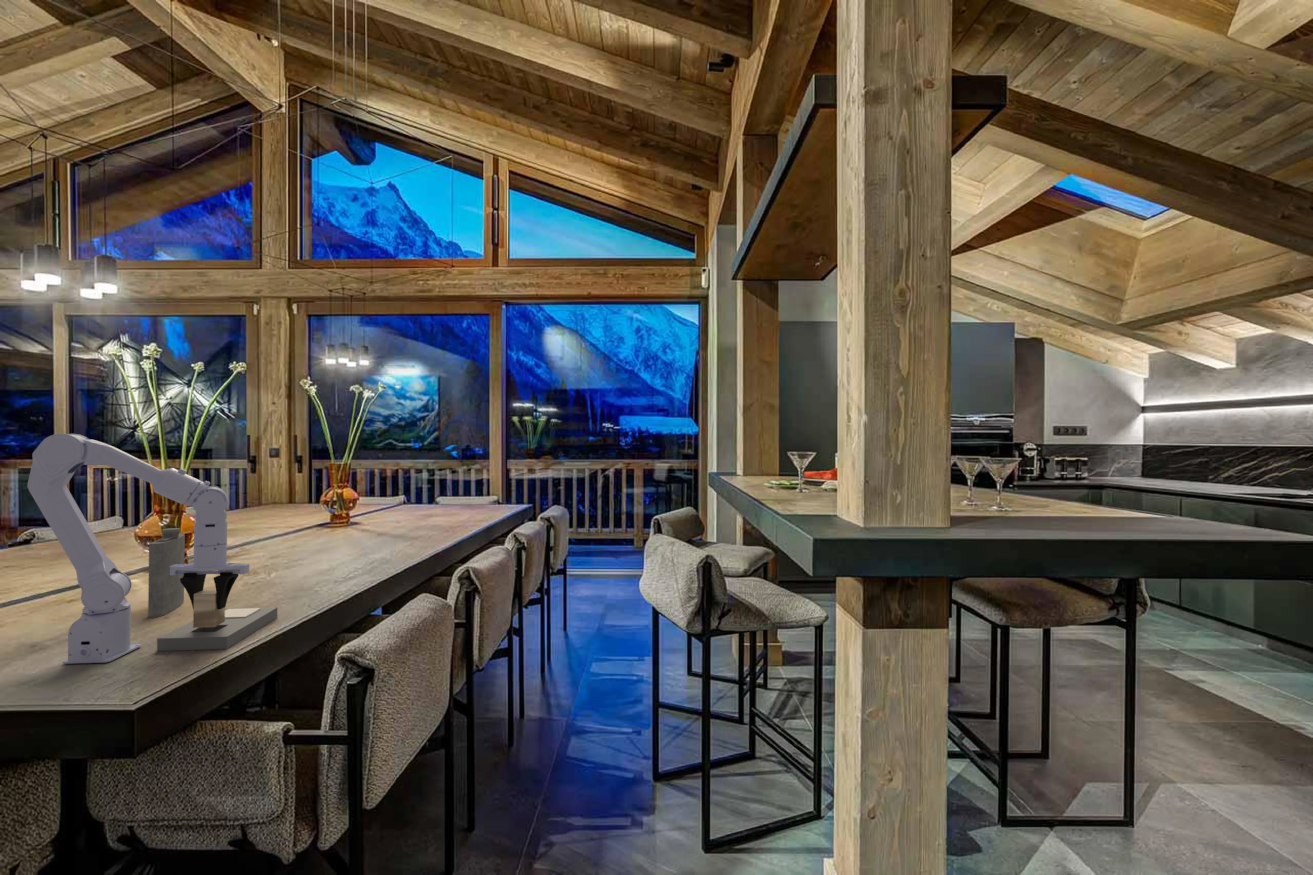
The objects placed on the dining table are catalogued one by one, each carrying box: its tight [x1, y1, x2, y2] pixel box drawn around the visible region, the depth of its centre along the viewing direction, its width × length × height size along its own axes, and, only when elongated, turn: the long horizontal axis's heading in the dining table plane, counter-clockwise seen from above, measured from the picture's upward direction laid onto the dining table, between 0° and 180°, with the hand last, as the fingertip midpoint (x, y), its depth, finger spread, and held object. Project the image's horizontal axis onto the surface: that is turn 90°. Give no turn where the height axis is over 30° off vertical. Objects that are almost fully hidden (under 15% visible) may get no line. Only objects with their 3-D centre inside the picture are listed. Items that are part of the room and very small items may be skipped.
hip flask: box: [147, 527, 186, 618], centre depth 156 cm, size 16×4×20 cm, turn 21°
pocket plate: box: [156, 606, 278, 652], centre depth 137 cm, size 22×13×3 cm, turn 8°
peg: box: [192, 588, 226, 628], centre depth 132 cm, size 4×4×7 cm
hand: (209, 608), depth 132 cm, fingers closed on peg, 4 cm apart
